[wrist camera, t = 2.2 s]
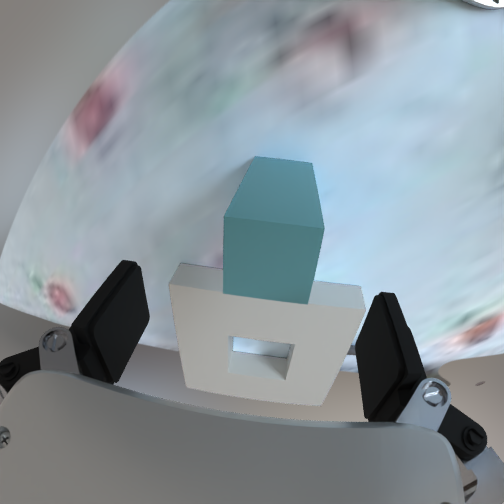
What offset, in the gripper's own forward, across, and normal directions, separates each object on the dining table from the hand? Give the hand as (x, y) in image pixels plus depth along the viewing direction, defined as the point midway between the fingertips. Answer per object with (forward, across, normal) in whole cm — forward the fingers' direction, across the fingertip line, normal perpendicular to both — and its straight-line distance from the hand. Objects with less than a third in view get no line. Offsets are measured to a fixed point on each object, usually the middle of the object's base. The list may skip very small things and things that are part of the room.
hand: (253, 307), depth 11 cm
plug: (+12, 0, -1) cm, 12 cm away
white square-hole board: (+12, -4, +15) cm, 20 cm away
